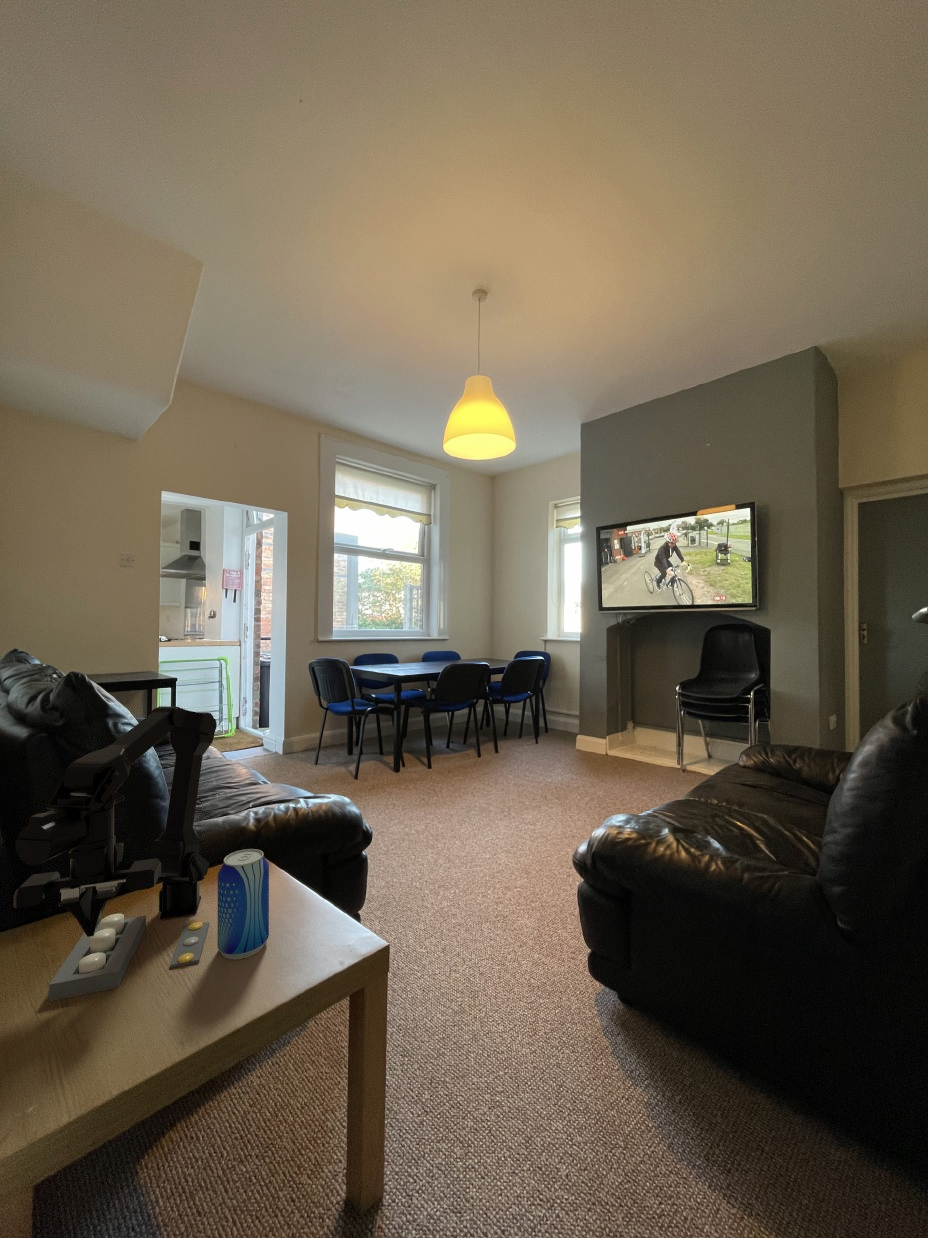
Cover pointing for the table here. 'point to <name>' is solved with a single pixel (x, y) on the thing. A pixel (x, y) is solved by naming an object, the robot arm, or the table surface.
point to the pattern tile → (190, 944)
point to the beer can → (243, 904)
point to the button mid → (102, 941)
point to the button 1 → (92, 962)
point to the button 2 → (113, 923)
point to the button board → (107, 978)
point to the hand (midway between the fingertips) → (91, 935)
